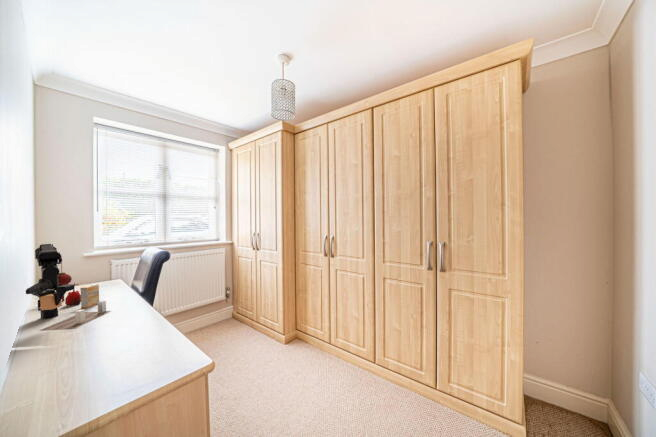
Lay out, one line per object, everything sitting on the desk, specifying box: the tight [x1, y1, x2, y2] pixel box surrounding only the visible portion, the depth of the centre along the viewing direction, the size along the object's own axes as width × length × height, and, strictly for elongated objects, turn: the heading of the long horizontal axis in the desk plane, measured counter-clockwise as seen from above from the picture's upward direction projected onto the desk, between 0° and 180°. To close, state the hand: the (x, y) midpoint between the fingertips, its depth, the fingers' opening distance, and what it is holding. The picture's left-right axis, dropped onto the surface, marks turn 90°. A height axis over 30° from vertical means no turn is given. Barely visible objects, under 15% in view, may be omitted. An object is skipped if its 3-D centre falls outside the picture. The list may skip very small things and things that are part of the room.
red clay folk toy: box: [64, 282, 81, 307], centre depth 170 cm, size 8×7×15 cm
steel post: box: [97, 300, 107, 313], centre depth 151 cm, size 3×3×8 cm
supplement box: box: [80, 283, 100, 309], centre depth 167 cm, size 8×5×13 cm, turn 179°
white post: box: [75, 308, 86, 324], centre depth 137 cm, size 3×3×8 cm
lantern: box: [58, 261, 73, 303], centre depth 177 cm, size 10×10×30 cm
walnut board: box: [39, 310, 112, 332], centre depth 141 cm, size 17×24×1 cm
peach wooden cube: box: [40, 294, 63, 310], centre depth 132 cm, size 5×5×7 cm
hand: (51, 305), depth 132 cm, fingers closed on peach wooden cube, 5 cm apart
